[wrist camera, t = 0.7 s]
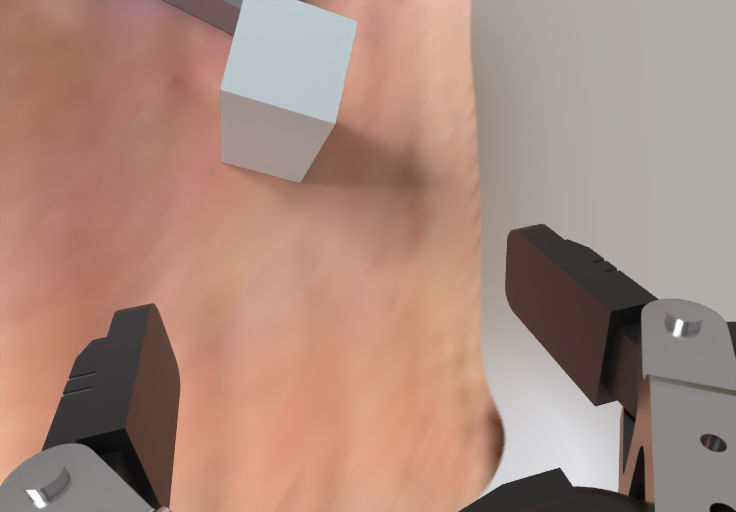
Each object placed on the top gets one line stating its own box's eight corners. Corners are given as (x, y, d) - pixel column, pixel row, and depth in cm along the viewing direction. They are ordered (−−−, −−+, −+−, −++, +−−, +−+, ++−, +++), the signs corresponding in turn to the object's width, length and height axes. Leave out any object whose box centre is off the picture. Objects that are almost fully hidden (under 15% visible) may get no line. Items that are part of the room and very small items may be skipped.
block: (221, 162, 29) (220, 89, 20) (239, 87, 30) (247, -18, 20) (300, 183, 30) (335, 124, 21) (316, 110, 31) (358, 21, 21)
